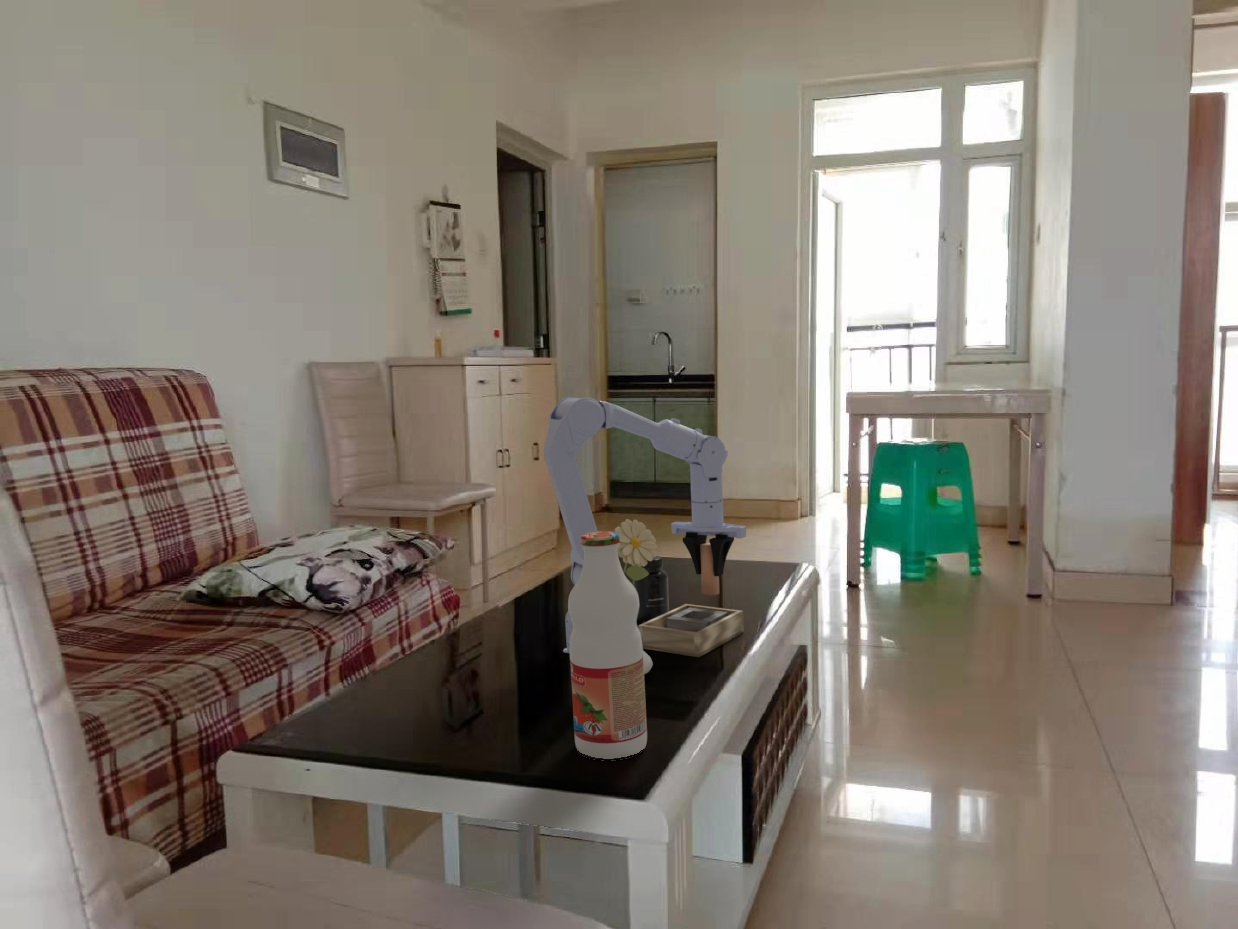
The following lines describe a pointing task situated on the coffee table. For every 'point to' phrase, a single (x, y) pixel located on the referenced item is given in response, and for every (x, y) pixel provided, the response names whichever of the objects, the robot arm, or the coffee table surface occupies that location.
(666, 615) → the box
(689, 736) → the coffee table surface
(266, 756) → the coffee table surface
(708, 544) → the peg
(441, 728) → the coffee table surface
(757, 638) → the coffee table surface
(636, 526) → the flower in vase
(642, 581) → the supplement bottle
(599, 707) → the fruit juice
